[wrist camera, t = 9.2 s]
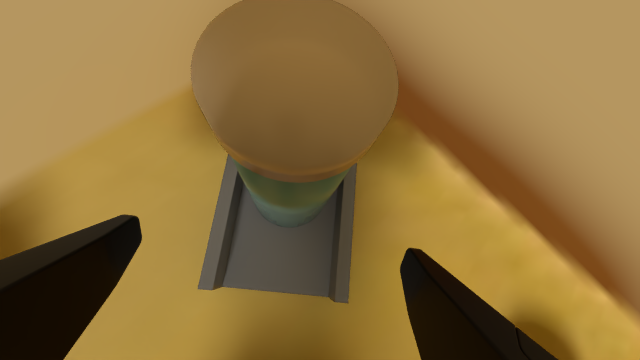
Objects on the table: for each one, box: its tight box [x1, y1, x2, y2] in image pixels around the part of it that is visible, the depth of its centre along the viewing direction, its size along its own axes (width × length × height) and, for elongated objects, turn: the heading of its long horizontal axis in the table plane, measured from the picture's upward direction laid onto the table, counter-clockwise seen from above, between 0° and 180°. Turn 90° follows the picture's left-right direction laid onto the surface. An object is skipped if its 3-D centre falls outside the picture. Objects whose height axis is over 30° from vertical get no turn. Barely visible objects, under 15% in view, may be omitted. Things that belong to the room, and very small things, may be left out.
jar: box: [191, 0, 399, 228], centre depth 14 cm, size 6×6×13 cm
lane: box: [198, 154, 357, 303], centre depth 17 cm, size 14×9×6 cm, turn 174°
